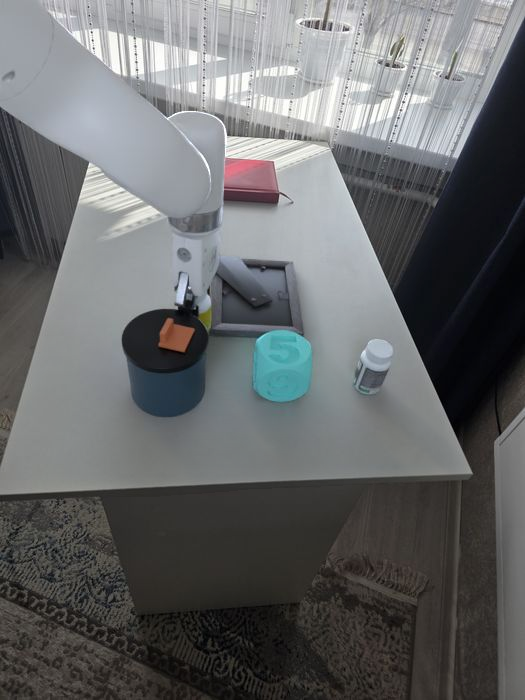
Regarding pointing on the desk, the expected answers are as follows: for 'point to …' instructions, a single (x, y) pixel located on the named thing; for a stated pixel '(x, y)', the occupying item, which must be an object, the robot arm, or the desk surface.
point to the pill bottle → (373, 366)
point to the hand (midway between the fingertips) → (194, 310)
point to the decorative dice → (282, 366)
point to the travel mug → (165, 364)
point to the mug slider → (175, 336)
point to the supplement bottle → (203, 309)
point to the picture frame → (254, 298)
